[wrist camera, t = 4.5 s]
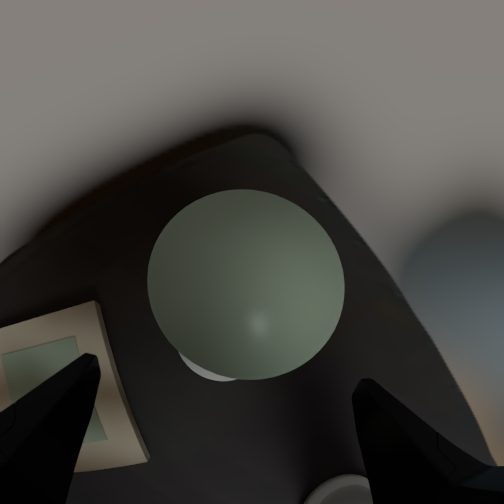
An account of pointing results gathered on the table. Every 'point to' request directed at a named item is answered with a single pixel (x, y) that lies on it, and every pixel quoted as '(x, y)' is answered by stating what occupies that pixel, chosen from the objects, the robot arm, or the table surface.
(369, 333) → the table surface
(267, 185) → the table surface
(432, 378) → the table surface
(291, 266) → the knob
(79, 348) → the pad
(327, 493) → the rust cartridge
